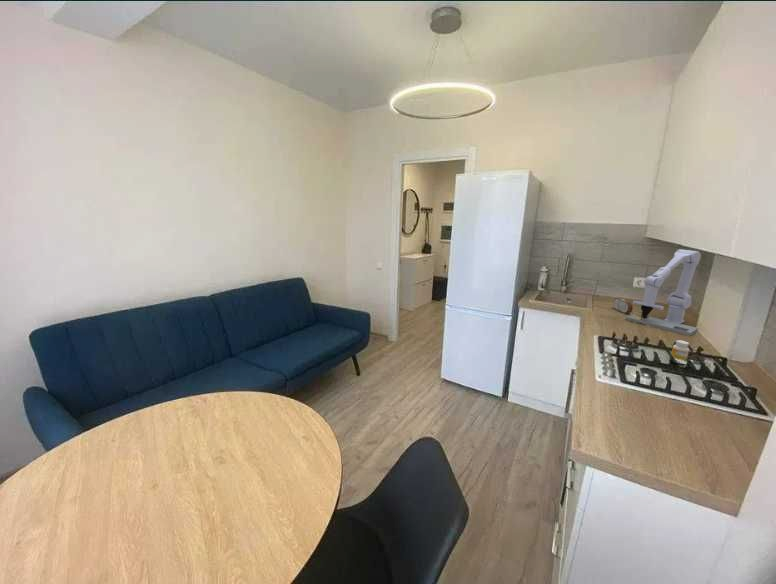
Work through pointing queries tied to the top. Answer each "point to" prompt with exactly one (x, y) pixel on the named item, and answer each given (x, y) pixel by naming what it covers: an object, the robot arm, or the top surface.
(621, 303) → the tin
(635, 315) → the block
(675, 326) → the board
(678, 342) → the supplement bottle
